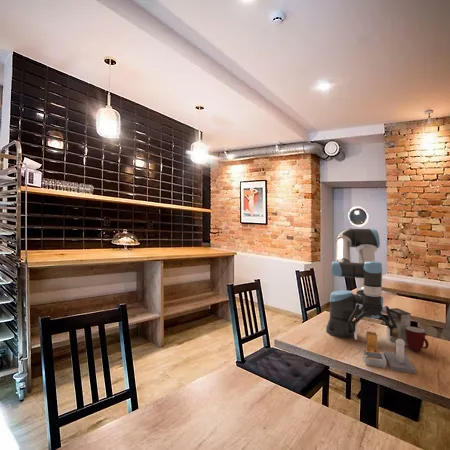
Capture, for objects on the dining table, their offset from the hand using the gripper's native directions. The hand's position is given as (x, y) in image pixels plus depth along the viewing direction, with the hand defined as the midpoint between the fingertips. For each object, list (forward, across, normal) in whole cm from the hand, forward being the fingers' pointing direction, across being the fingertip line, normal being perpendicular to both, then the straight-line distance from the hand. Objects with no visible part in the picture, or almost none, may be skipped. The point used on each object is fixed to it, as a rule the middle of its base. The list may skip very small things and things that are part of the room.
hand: (371, 340), depth 135 cm
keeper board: (+7, +10, -4) cm, 13 cm away
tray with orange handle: (+7, 0, -4) cm, 8 cm away
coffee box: (+7, +16, +23) cm, 29 cm away
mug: (+7, +22, +13) cm, 26 cm away
